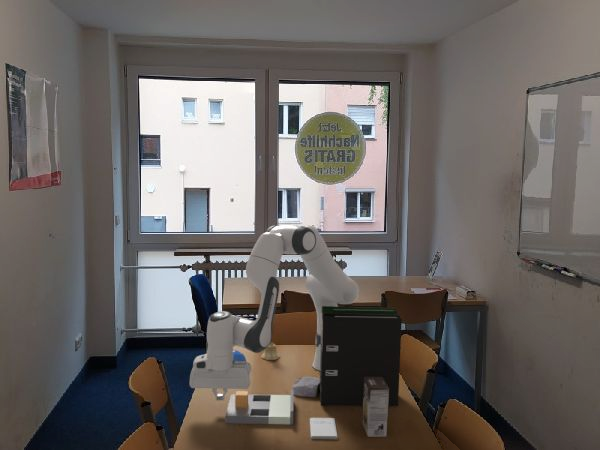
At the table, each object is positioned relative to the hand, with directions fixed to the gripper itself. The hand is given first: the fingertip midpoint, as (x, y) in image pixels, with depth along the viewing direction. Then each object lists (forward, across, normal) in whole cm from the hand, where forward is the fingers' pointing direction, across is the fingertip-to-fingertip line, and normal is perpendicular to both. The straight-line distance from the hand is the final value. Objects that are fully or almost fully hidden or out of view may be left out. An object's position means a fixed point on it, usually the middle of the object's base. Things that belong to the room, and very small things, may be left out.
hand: (220, 399), depth 191 cm
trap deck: (+4, -14, 0) cm, 14 cm away
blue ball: (+4, -1, -35) cm, 36 cm away
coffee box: (+4, -51, +12) cm, 52 cm away
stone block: (+5, -30, -19) cm, 36 cm away
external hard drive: (+5, -34, +12) cm, 37 cm away
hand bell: (+4, -15, -54) cm, 56 cm away
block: (+2, -7, 0) cm, 7 cm away
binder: (+4, -48, -12) cm, 50 cm away
